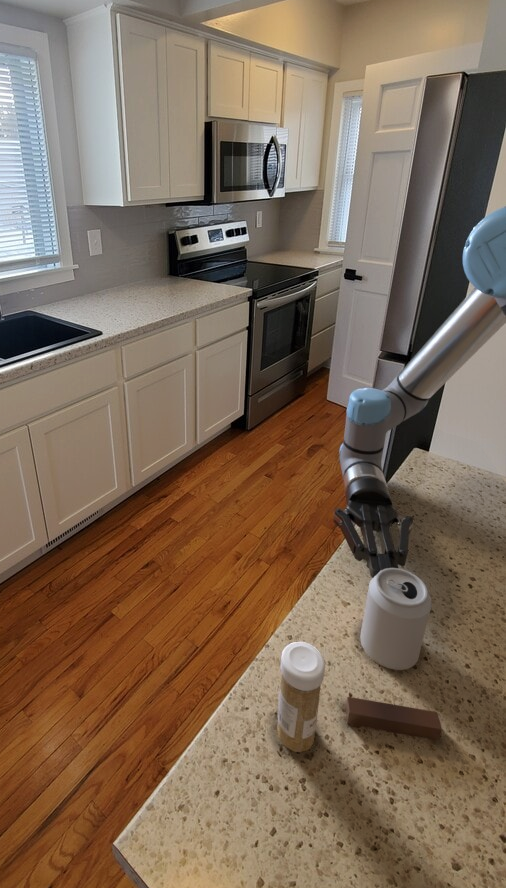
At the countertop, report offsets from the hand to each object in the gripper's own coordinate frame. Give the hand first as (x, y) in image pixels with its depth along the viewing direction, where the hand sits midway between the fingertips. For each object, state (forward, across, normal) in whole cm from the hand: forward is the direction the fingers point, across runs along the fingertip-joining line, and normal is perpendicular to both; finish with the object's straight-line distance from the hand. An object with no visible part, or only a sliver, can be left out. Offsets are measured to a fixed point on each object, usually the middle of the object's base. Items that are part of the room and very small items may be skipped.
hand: (389, 594), depth 68 cm
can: (+4, 0, -6) cm, 7 cm away
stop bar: (+15, +2, -6) cm, 16 cm away
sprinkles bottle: (+18, +13, -6) cm, 23 cm away
